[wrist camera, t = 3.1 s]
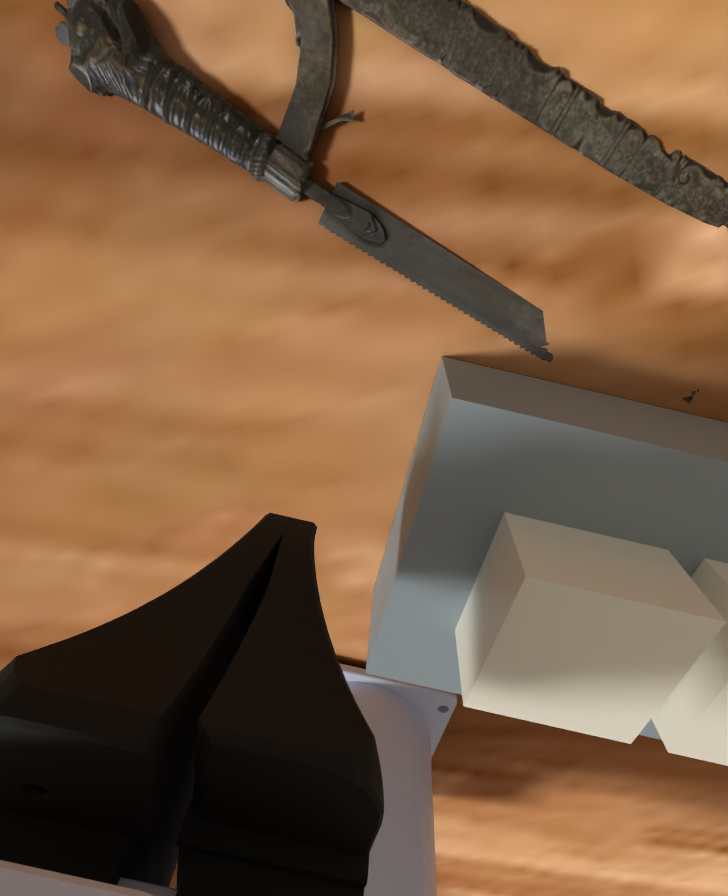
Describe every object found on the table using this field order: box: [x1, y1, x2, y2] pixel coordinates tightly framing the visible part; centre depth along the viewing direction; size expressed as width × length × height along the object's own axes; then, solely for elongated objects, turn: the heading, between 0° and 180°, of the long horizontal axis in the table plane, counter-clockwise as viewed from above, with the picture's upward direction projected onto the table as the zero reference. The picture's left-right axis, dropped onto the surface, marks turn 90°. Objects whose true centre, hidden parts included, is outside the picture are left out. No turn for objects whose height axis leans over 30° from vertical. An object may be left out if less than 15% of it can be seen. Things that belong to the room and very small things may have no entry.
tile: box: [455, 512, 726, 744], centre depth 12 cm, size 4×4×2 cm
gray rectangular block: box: [366, 356, 728, 740], centre depth 15 cm, size 10×14×4 cm
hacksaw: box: [54, 0, 728, 403], centre depth 12 cm, size 24×10×2 cm, turn 61°
